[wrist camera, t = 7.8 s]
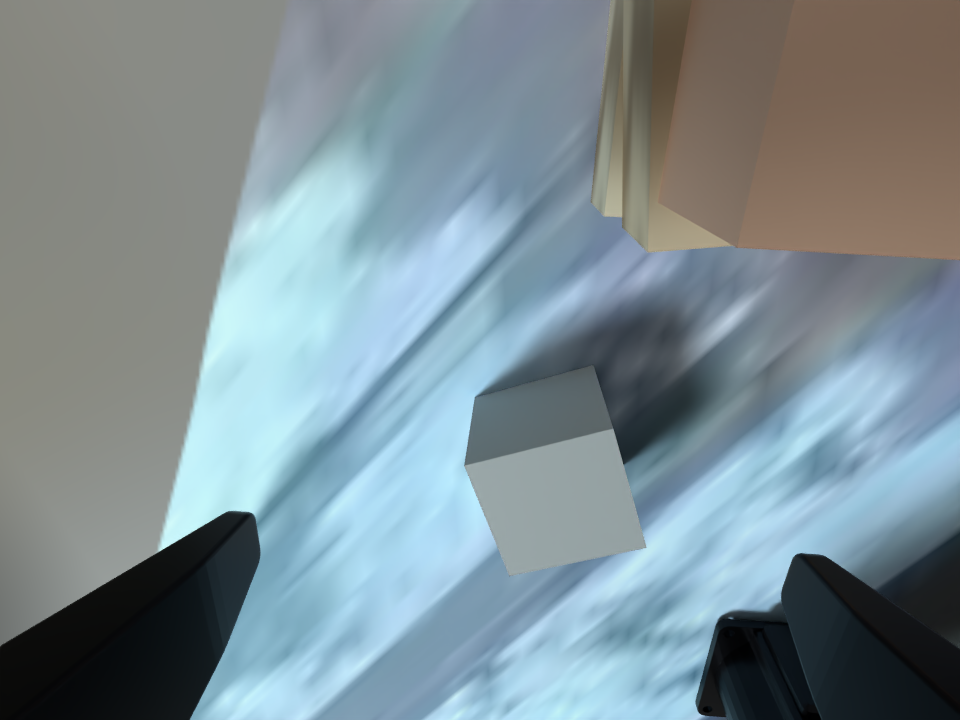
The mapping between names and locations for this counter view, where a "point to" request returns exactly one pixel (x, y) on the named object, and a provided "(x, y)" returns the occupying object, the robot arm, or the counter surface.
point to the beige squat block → (653, 123)
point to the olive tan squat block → (610, 122)
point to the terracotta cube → (820, 126)
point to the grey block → (551, 473)
